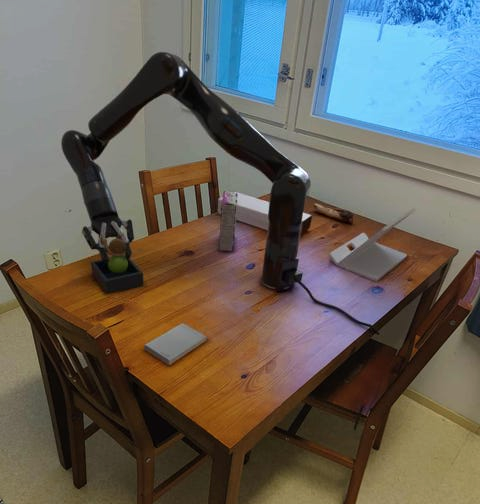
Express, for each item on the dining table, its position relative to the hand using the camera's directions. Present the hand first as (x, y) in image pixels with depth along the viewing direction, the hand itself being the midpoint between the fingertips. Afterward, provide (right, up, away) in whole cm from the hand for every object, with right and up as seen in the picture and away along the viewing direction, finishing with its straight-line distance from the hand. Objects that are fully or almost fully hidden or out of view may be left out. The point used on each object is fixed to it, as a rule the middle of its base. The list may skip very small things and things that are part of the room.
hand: (118, 259), depth 125 cm
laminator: (+41, +20, +48) cm, 66 cm away
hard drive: (+18, -23, -16) cm, 33 cm away
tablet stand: (+76, +4, +31) cm, 82 cm away
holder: (-2, -5, +5) cm, 7 cm away
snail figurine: (-2, -3, +4) cm, 5 cm away
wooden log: (+71, +25, +59) cm, 96 cm away
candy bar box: (+29, +9, +30) cm, 43 cm away
